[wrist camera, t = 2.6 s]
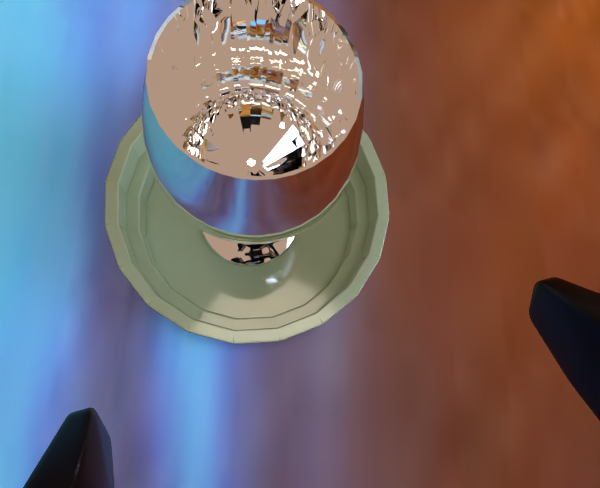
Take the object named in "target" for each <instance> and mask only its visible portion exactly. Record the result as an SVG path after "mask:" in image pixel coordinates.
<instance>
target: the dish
mask: <svg viewBox="0 0 600 488" xmlns="http://www.w3.org/2000/svg"><path fill="white" fill-rule="evenodd" d="M389 216H390V215H389V204H388V194H387V183H386V176H385V173H384V170H383V168H382V166H381V163H380V161H379V159H378V156H377V154H376V152H375V149H374V147H373V145H372V142H371V140H370V138H369V136H368V135H367V134H366V133H365V132H364V130H363V131H362V137H361V142H360V147H359V152H358V157H357V161H356V165H355V168H354V170H353V172H352V175H351V177H350V180H349V182H348V184H347V186H346V188H345V190H344V191H343V193H342V195H341V197H340V198H339V200H338V201H337V202H336V204H335V205H334V206H333V207H332V208H331V210H330V211H329V212H328V213H327V214H326V215H325V216H324V217H323V218H322V219H320V220H319V221H318V222H317V223H315V224H314V225H312V226H311V227H309V228H308V229H306V230H305V231H303V232H302V233H300V234H297V236H296V238H295V241H294V242H293V244H292V245H291V247H290V248H289V250H288V251H287V252H285V253H284V254H283V255H282V256H281V257H280V258H278V259H276V260H275V261H273V262H271V263H268V264H265V265H262V266H255V267H245V266H239V265H234V264H232V263H230V262H227V261H225V260H223V259H222V258H220V257H219V256H217V255H216V254H215V253H214V252H213V251H212V250H211V249H210V247H209V246H208V244H207V243H206V241H205V239H204V237H203V235H202V232H201V230H200V229H199V228H198V227H196V226H195V225H194V224H192V223H191V222H189V221H188V220H187V219H185V218H184V217H183V216H182V215H181V214H180V213H179V212H178V211H177V210H176V209H175V208H174V207H173V206H172V205H171V203H170V202H169V201H168V199H167V198H166V197H165V195H164V194H163V192H162V190H161V189H160V187H159V185H158V183H157V181H156V178H155V176H154V174H153V171H152V169H151V167H150V164H149V159H148V155H147V151H146V146H145V142H144V135H143V126H142V114H141V115H140V117H139V118H138V119H137V120H136V122H135V123H134V124H133V125H132V127H131V128H130V129H129V130H128V132H127V133H126V134H125V135H124V137H123V138H122V139H121V141H120V143H119V146H118V149H117V151H116V154H115V157H114V159H113V162H112V165H111V168H110V170H109V173H108V176H107V178H106V183H105V225H106V226H105V228H106V231H107V234H108V237H109V240H110V243H111V246H112V249H113V252H114V255H115V258H116V261H117V264H118V267H119V268H120V271H121V272H122V273H123V275H124V276H125V277H126V278H127V280H128V281H129V282H130V284H131V285H132V286H133V287H134V289H135V290H136V291H137V293H138V294H139V295H140V297H141V298H142V299H143V300H144V302H145V303H146V304H147V305H148V306H149V307H150V308H152V309H153V310H155V311H156V312H158V313H159V314H161V315H162V316H164V317H166V318H167V319H169V320H170V321H172V322H173V323H175V324H176V325H178V326H179V327H181V328H182V329H184V330H185V331H188V332H190V333H194V334H197V335H201V336H205V337H209V338H212V339H216V340H220V341H224V342H227V343H231V344H250V343H267V342H278V341H282V340H285V339H287V338H290V337H292V336H295V335H297V334H300V333H302V332H305V331H307V330H310V329H313V328H315V327H318V326H320V325H322V324H324V323H325V322H327V321H328V320H329V319H330V318H331V317H333V316H334V315H335V314H336V313H337V312H338V311H340V310H341V309H342V308H343V307H344V306H346V305H347V304H348V303H349V302H350V301H352V300H353V299H354V298H355V297H356V296H357V295H358V294H359V292H360V291H361V289H362V287H363V286H364V284H365V283H366V281H367V279H368V278H369V276H370V274H371V273H372V271H373V269H374V268H375V266H376V265H377V263H378V261H379V259H380V257H381V253H382V249H383V244H384V240H385V235H386V231H387V227H388V222H389Z"/></svg>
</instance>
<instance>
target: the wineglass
mask: <svg viewBox="0 0 600 488" xmlns="http://www.w3.org/2000/svg"><path fill="white" fill-rule="evenodd" d="M363 115H364V95H363V83H362V70H361V66H360V62H359V59H358V55H357V51H356V49H355V47H354V45H353V44H352V42H351V40H350V38H349V36H348V34H347V32H346V31H345V30H344V28H343V27H342V26H341V25H340V24H339V23H338V21H337V20H336V19H335V18H334V17H333V16H332V14H331V13H330V12H328V11H327V10H326V9H324V8H323V7H322V6H320V5H319V4H318V3H316V2H315V1H313V0H187V1H185V2H184V3H183V4H182V5H181V6H179V7H178V8H177V9H176V10H175V11H174V12H173V13H172V14H171V15H170V16H168V18H167V19H166V21H165V22H164V24H163V25H162V26H161V28H160V29H159V31H158V32H157V34H156V36H155V38H154V41H153V44H152V46H151V49H150V52H149V54H148V60H147V66H146V72H145V78H144V84H143V93H142V126H143V135H144V142H145V146H146V151H147V155H148V159H149V164H150V167H151V169H152V171H153V174H154V176H155V178H156V181H157V183H158V185H159V187H160V189H161V190H162V192H163V194H164V195H165V197H166V198H167V199H168V201H169V202H170V203H171V205H172V206H173V207H174V208H175V209H176V210H177V211H178V212H179V213H180V214H181V215H182V216H183V217H184V218H185V219H187V220H188V221H189V222H191V223H192V224H194V225H195V226H196V227H198V228H199V229H200V230H201V232H202V235H203V237H204V239H205V241H206V243H207V244H208V246H209V247H210V249H211V250H212V251H213V252H214V253H215V254H216V255H217V256H219V257H220V258H222V259H223V260H225V261H227V262H230V263H232V264H234V265H239V266H245V267H255V266H262V265H265V264H268V263H271V262H273V261H275V260H276V259H278V258H280V257H281V256H282V255H283V254H284V253H285V252H287V251H288V250H289V248H290V247H291V245H292V244H293V242H294V241H295V238H296V236H297V234H300V233H302V232H303V231H305V230H306V229H308V228H309V227H311V226H312V225H314V224H315V223H317V222H318V221H319V220H320V219H322V218H323V217H324V216H325V215H326V214H327V213H328V212H329V211H330V210H331V208H332V207H333V206H334V205H335V204H336V202H337V201H338V200H339V198H340V197H341V195H342V193H343V191H344V190H345V188H346V186H347V184H348V182H349V180H350V177H351V175H352V172H353V170H354V168H355V165H356V161H357V157H358V152H359V147H360V142H361V137H362V131H363Z"/></svg>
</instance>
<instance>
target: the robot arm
mask: <svg viewBox="0 0 600 488" xmlns="http://www.w3.org/2000/svg"><path fill="white" fill-rule="evenodd" d="M529 315H530V318H531V321H532V323H533V324H534V326H535V327H536V329H537V331H538V332H539V334H540V335H541V337H542V339H543V340H544V342H545V343H546V345H547V347H548V348H549V350H550V351H551V353H552V355H553V356H554V358H555V359H556V361H557V363H558V364H559V366H560V367H561V369H562V371H563V372H564V374H565V375H566V377H567V378H568V380H569V381H570V383H571V384H572V385H573V387H574V388H575V389H576V391H577V392H578V393H579V395H580V396H581V397H582V399H583V400H584V401H585V402H586V404H587V405H588V406H589V408H590V409H591V410H592V411H593V413H594V414H595V415H596V417H597V418H598V419H599V420H600V294H599V293H596V292H594V291H591V290H589V289H586V288H583V287H581V286H578V285H576V284H573V283H570V282H568V281H565V280H563V279H560V278H556V277H553V278H549V279H545V280H541V281H538V282H537V283H536V284H535V286H534V289H533V294H532V299H531V303H530V308H529ZM23 488H114V474H113V460H112V447H111V440H110V436H109V434H108V432H107V430H106V428H105V426H104V424H103V422H102V421H101V419H100V417H99V415H98V413H97V412H96V410H95V409H94V408H86V409H83V410H79V411H76V412H72V413H71V414H69V415H68V416H67V418H66V419H65V421H64V422H63V424H62V426H61V427H60V429H59V430H58V432H57V434H56V435H55V437H54V439H53V440H52V442H51V443H50V445H49V447H48V448H47V450H46V451H45V453H44V455H43V456H42V458H41V460H40V461H39V463H38V464H37V466H36V468H35V469H34V471H33V472H32V474H31V476H30V477H29V479H28V481H27V482H26V484H25V485H24V487H23Z"/></svg>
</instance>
